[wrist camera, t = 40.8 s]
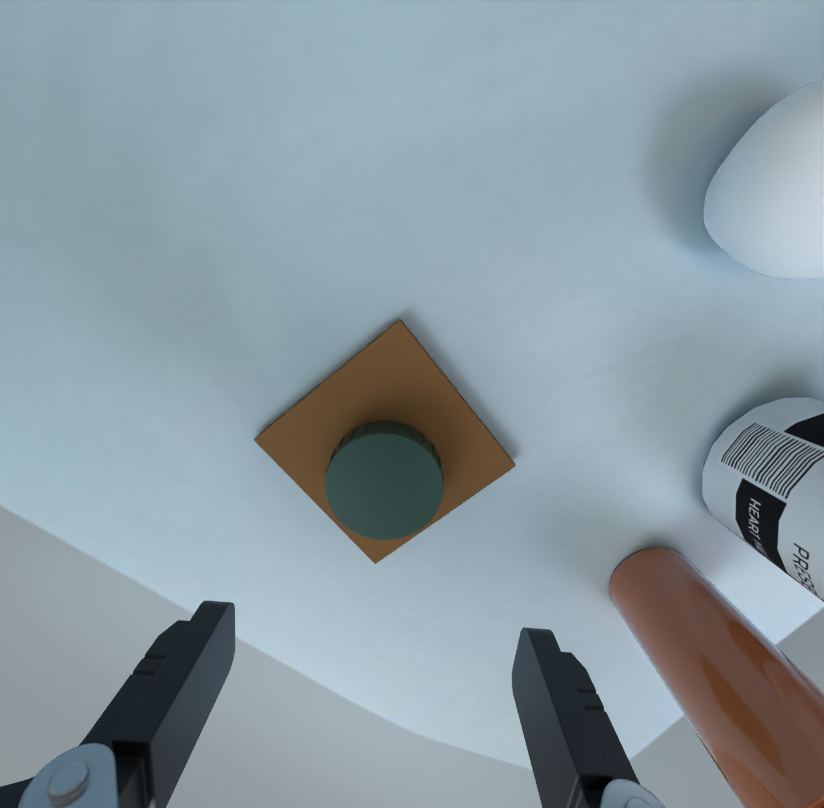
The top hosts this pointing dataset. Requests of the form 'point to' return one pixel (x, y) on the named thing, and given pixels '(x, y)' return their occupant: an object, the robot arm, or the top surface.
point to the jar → (726, 680)
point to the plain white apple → (774, 191)
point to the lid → (384, 480)
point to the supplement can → (774, 485)
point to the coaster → (389, 401)
